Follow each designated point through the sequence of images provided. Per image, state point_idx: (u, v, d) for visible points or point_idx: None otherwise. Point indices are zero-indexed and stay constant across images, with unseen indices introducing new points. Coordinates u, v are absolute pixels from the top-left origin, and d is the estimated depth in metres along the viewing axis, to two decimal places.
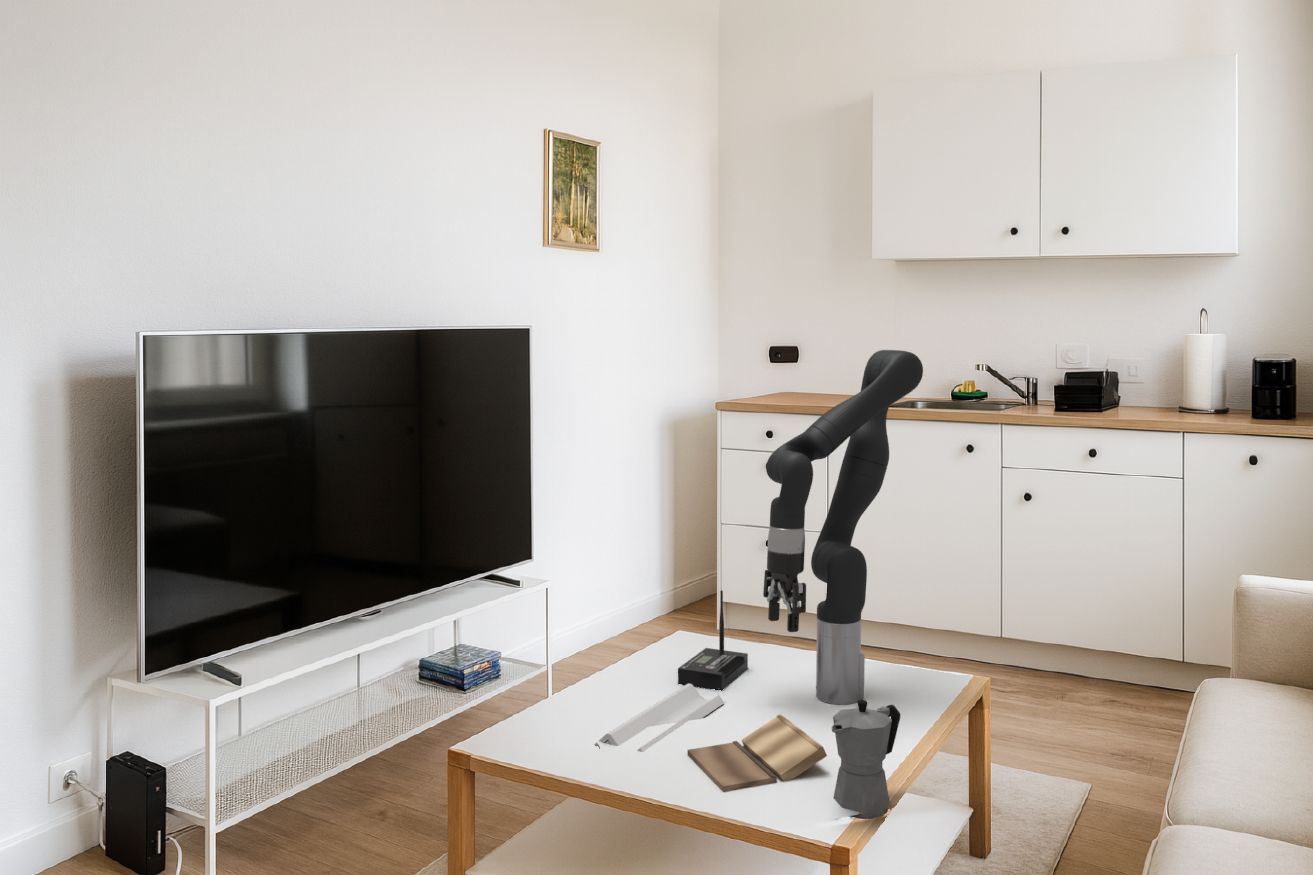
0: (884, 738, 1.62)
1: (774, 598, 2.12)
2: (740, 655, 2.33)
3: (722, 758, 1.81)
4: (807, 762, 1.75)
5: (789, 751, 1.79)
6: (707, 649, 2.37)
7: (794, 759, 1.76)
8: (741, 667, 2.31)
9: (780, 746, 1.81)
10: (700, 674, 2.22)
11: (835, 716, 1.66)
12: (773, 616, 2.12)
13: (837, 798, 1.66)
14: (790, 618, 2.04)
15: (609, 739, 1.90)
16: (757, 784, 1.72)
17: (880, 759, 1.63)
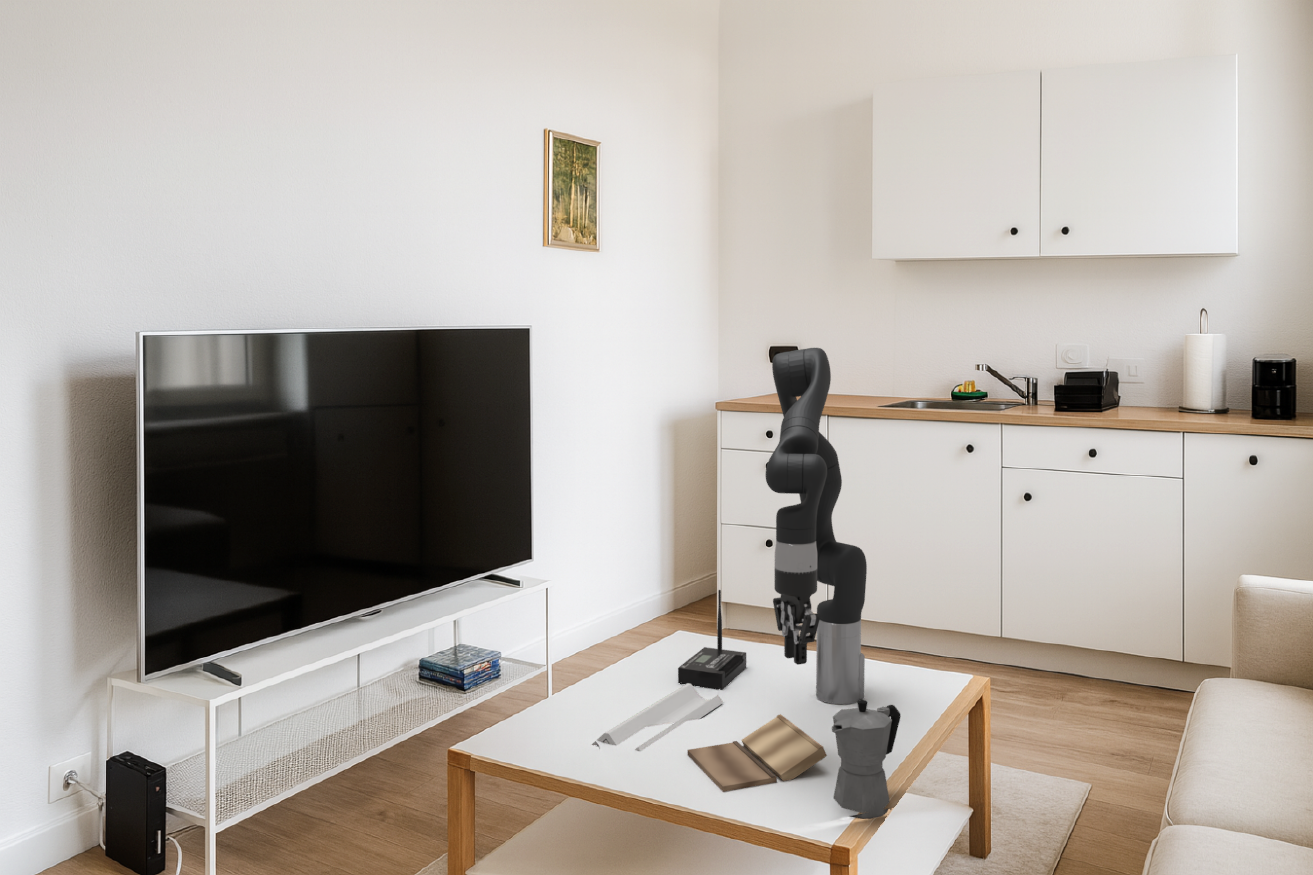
0: (884, 738, 1.62)
1: (790, 632, 1.83)
2: (739, 654, 2.34)
3: (722, 758, 1.81)
4: (807, 762, 1.75)
5: (789, 751, 1.79)
6: (705, 648, 2.38)
7: (794, 759, 1.76)
8: (740, 666, 2.31)
9: (780, 746, 1.81)
10: (700, 673, 2.23)
11: (835, 716, 1.66)
12: (790, 652, 1.83)
13: (837, 798, 1.66)
14: (797, 649, 1.79)
15: (607, 738, 1.90)
16: (757, 784, 1.72)
17: (880, 759, 1.63)
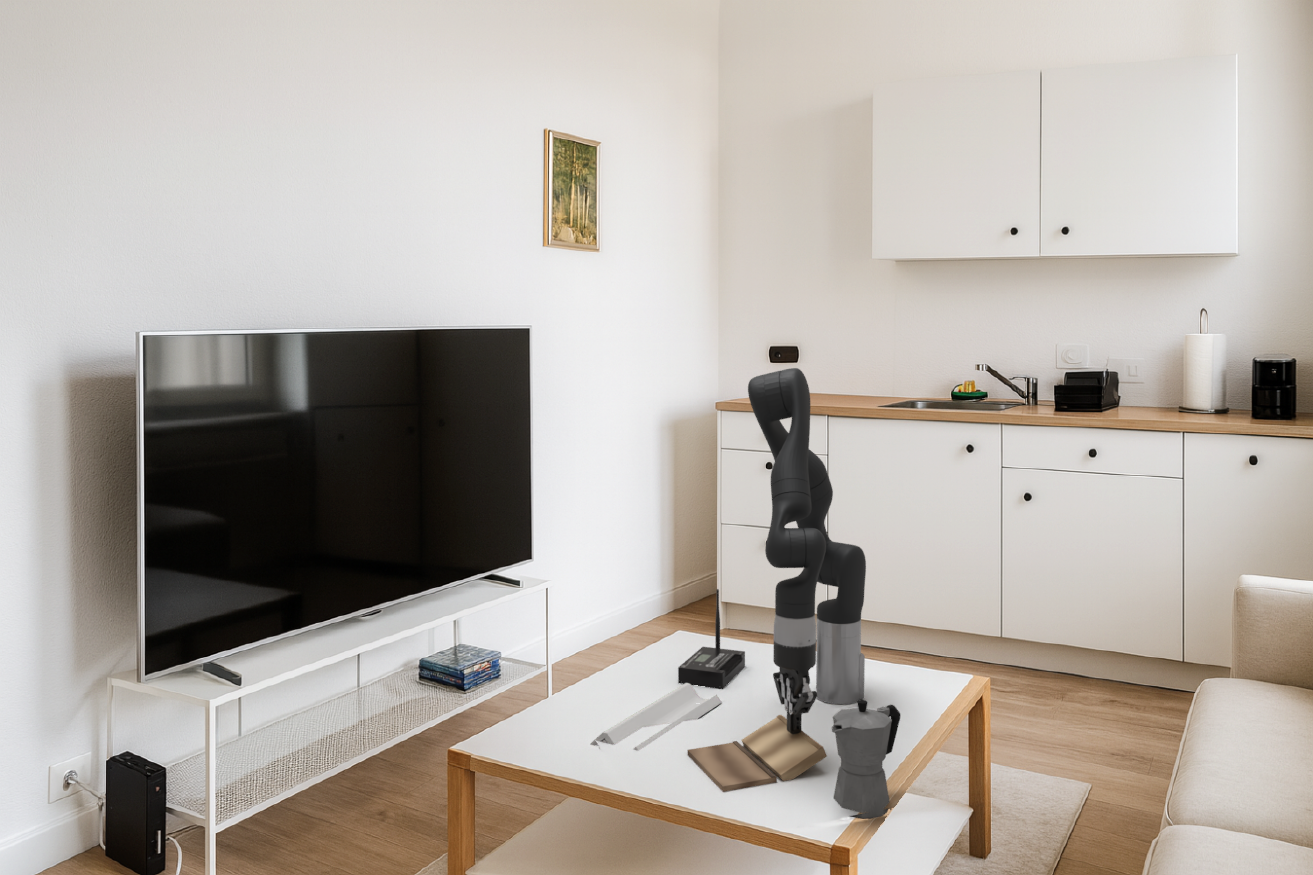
0: (884, 738, 1.62)
1: None
2: (738, 653, 2.34)
3: (722, 758, 1.81)
4: (807, 762, 1.75)
5: (789, 751, 1.79)
6: (704, 648, 2.38)
7: (794, 759, 1.76)
8: (739, 665, 2.32)
9: (780, 746, 1.81)
10: (700, 672, 2.23)
11: (835, 716, 1.66)
12: None
13: (837, 798, 1.66)
14: (791, 719, 1.82)
15: (605, 738, 1.91)
16: (757, 784, 1.72)
17: (880, 759, 1.63)
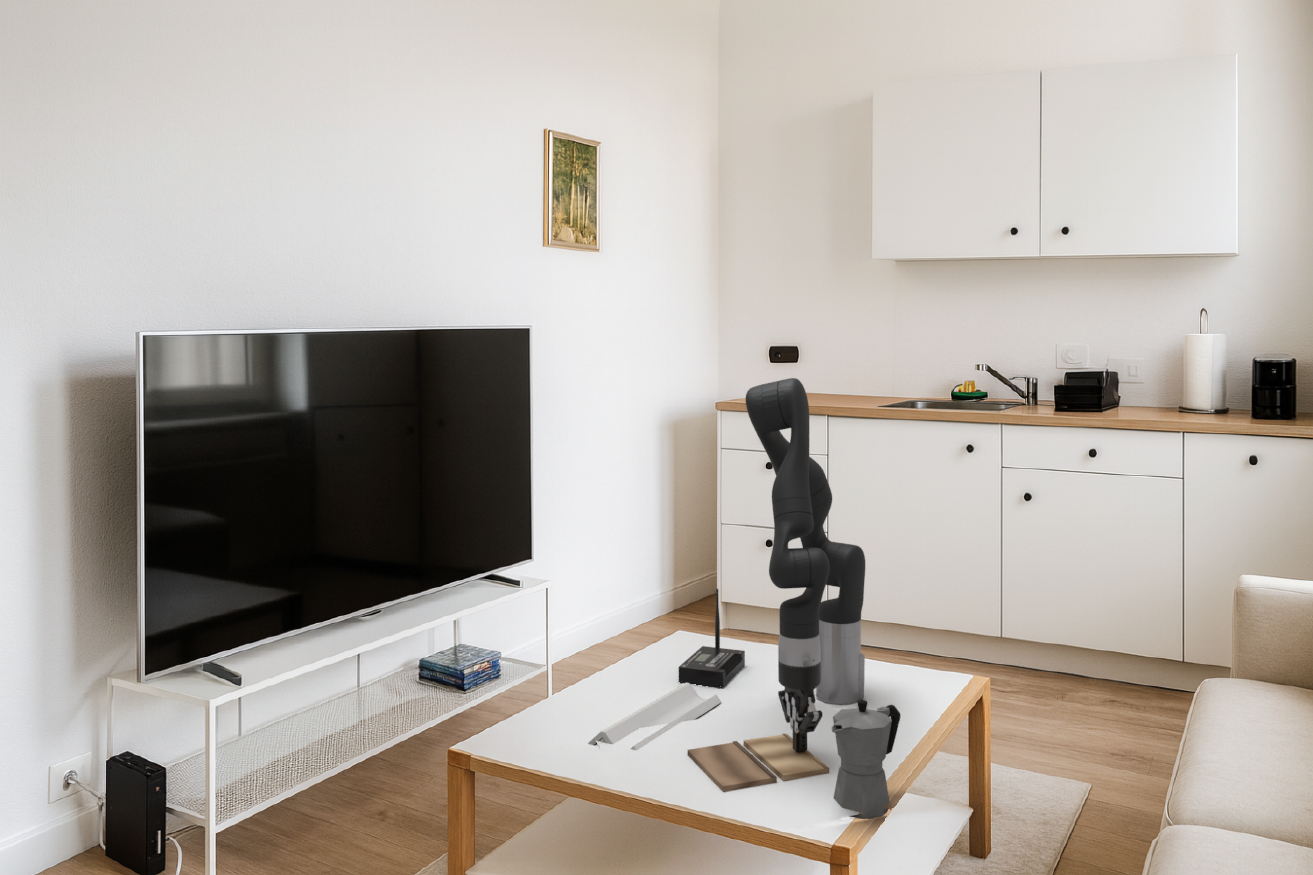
0: (884, 738, 1.62)
1: None
2: (738, 652, 2.35)
3: (722, 758, 1.81)
4: (810, 775, 1.75)
5: (794, 761, 1.79)
6: (704, 647, 2.39)
7: (798, 768, 1.76)
8: (739, 664, 2.33)
9: (784, 755, 1.82)
10: (701, 672, 2.23)
11: (835, 716, 1.66)
12: None
13: (837, 798, 1.66)
14: (797, 737, 1.82)
15: (603, 737, 1.91)
16: (757, 784, 1.72)
17: (880, 759, 1.63)
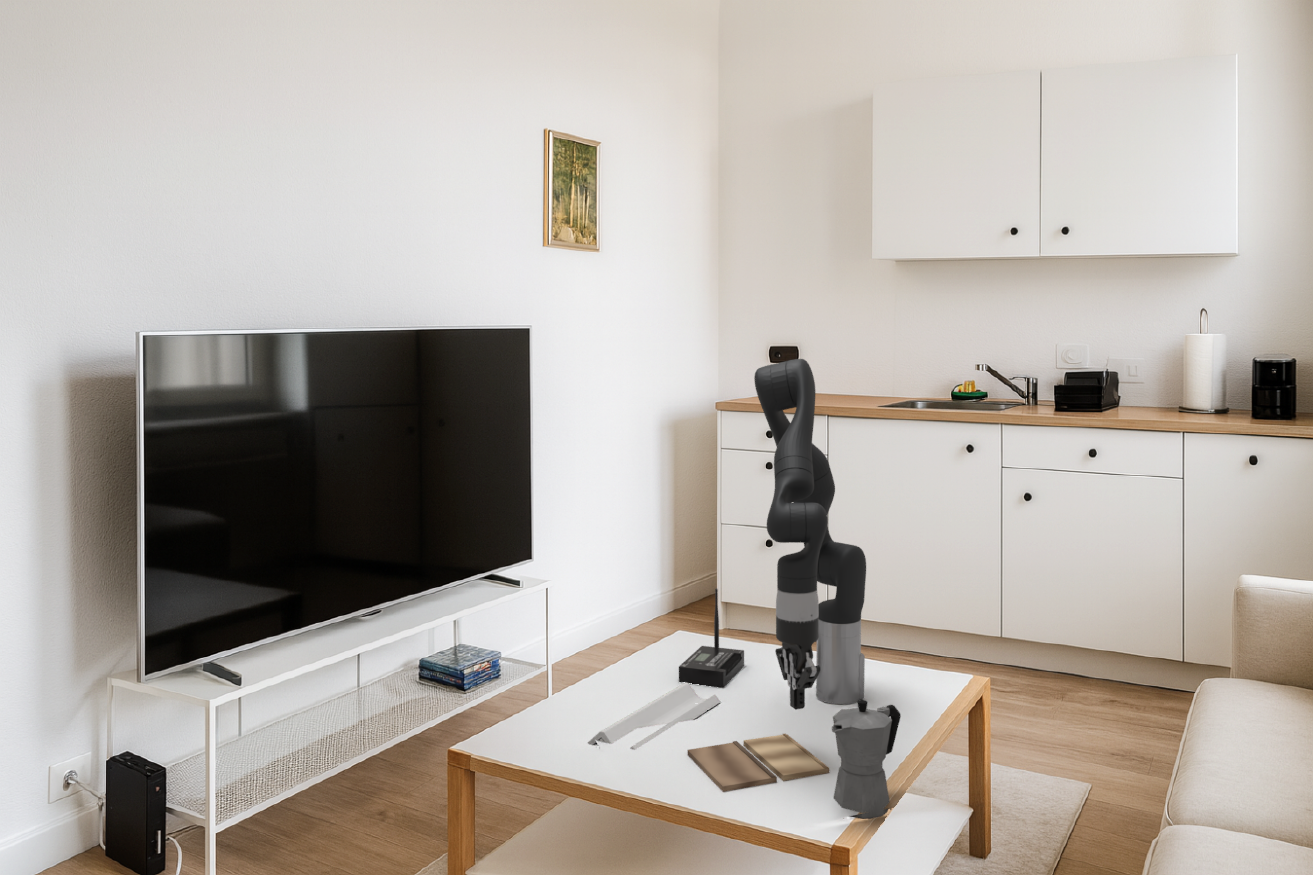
0: (884, 738, 1.62)
1: None
2: (737, 652, 2.35)
3: (722, 758, 1.81)
4: (810, 775, 1.75)
5: (794, 761, 1.79)
6: (703, 647, 2.39)
7: (798, 768, 1.76)
8: (739, 664, 2.33)
9: (784, 755, 1.82)
10: (701, 671, 2.24)
11: (835, 716, 1.66)
12: None
13: (837, 798, 1.66)
14: (795, 694, 1.81)
15: (602, 737, 1.91)
16: (757, 784, 1.72)
17: (880, 759, 1.63)
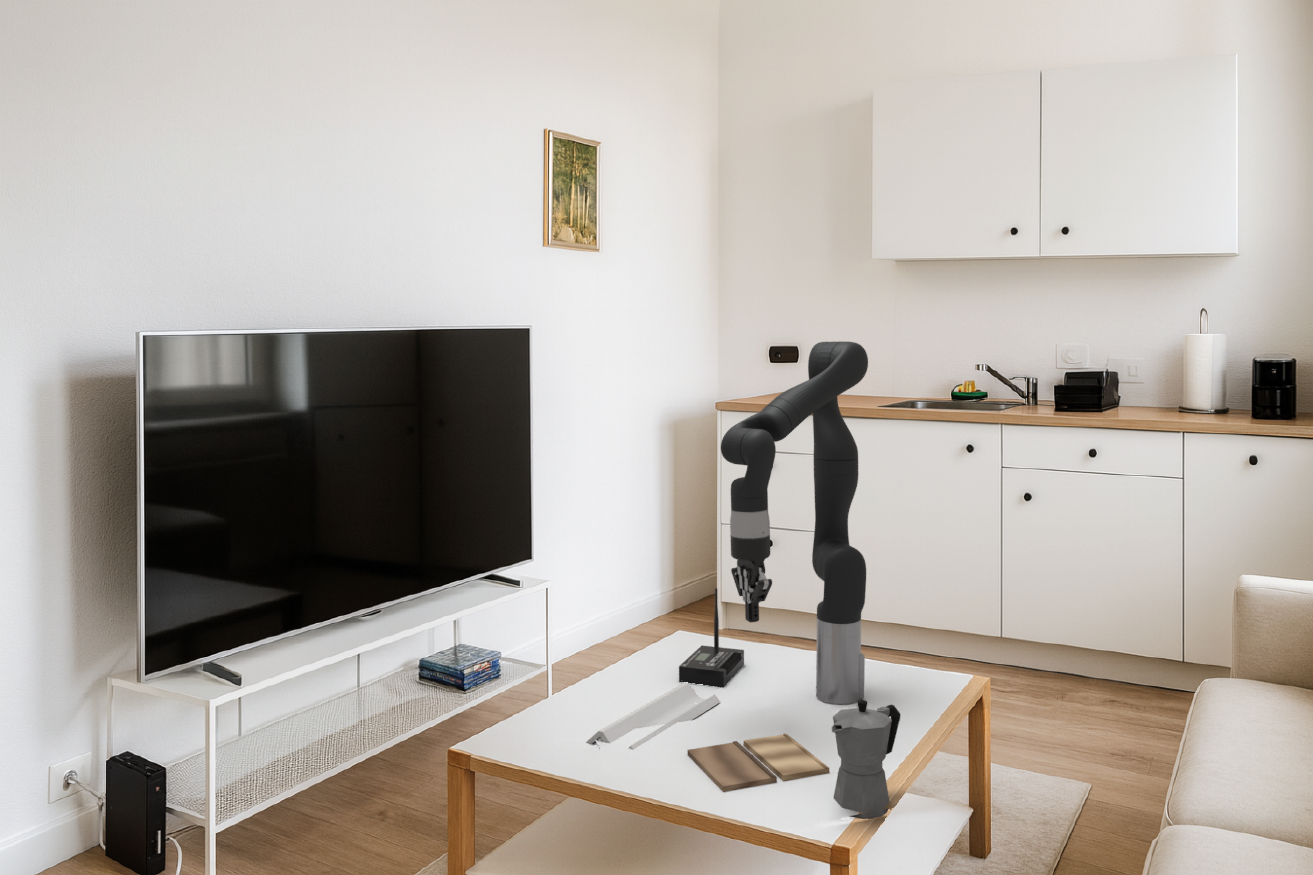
0: (884, 738, 1.62)
1: None
2: (737, 652, 2.35)
3: (722, 758, 1.81)
4: (810, 775, 1.75)
5: (794, 761, 1.79)
6: (703, 647, 2.39)
7: (798, 768, 1.76)
8: (739, 663, 2.33)
9: (784, 755, 1.82)
10: (701, 671, 2.24)
11: (835, 716, 1.66)
12: None
13: (837, 798, 1.66)
14: (749, 608, 1.94)
15: (601, 736, 1.91)
16: (757, 784, 1.72)
17: (880, 759, 1.63)
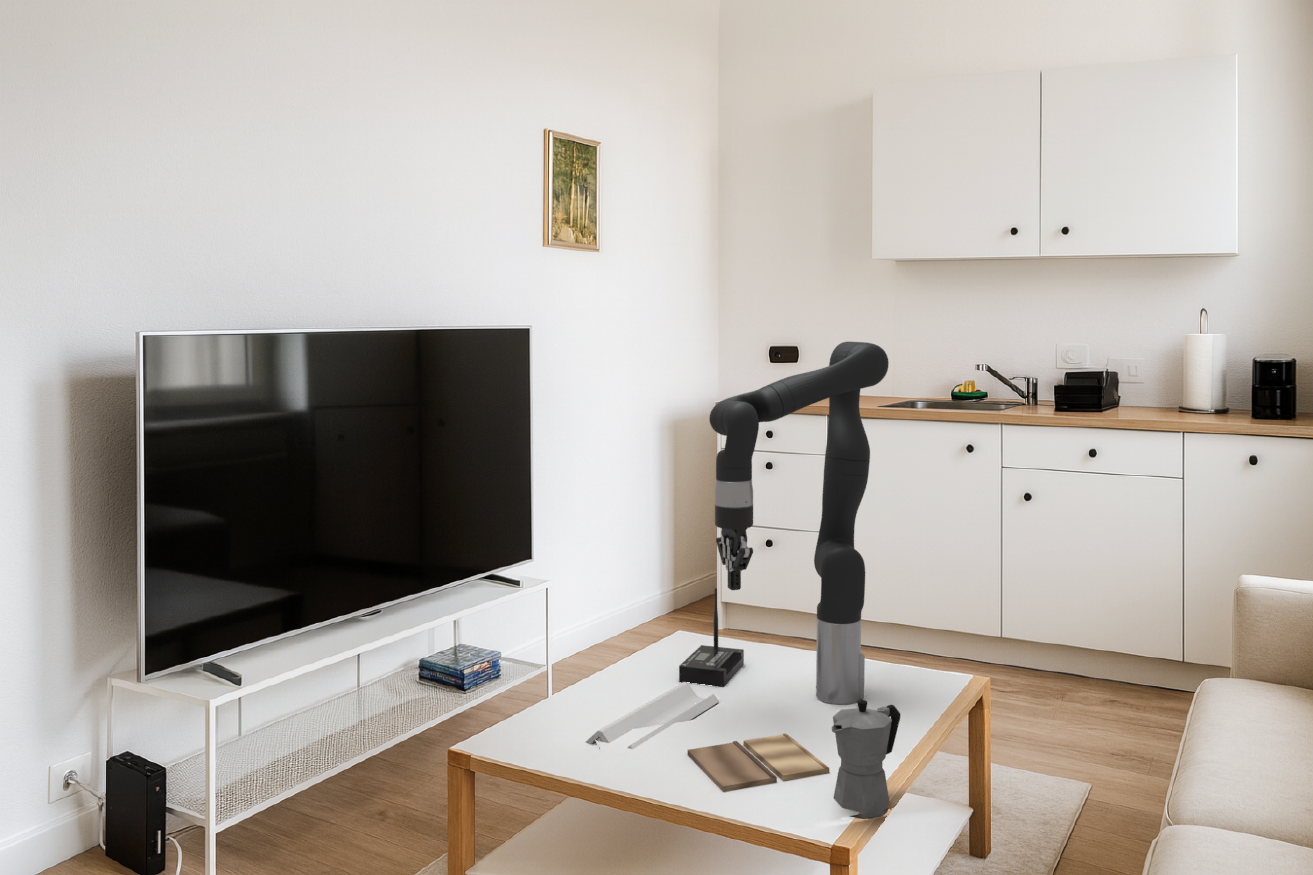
0: (884, 738, 1.62)
1: None
2: (737, 651, 2.36)
3: (722, 758, 1.81)
4: (810, 775, 1.75)
5: (794, 761, 1.79)
6: (703, 646, 2.40)
7: (798, 768, 1.76)
8: (739, 663, 2.34)
9: (784, 755, 1.82)
10: (701, 671, 2.24)
11: (835, 716, 1.66)
12: None
13: (837, 798, 1.66)
14: (731, 576, 1.99)
15: (600, 736, 1.91)
16: (757, 784, 1.72)
17: (880, 759, 1.63)
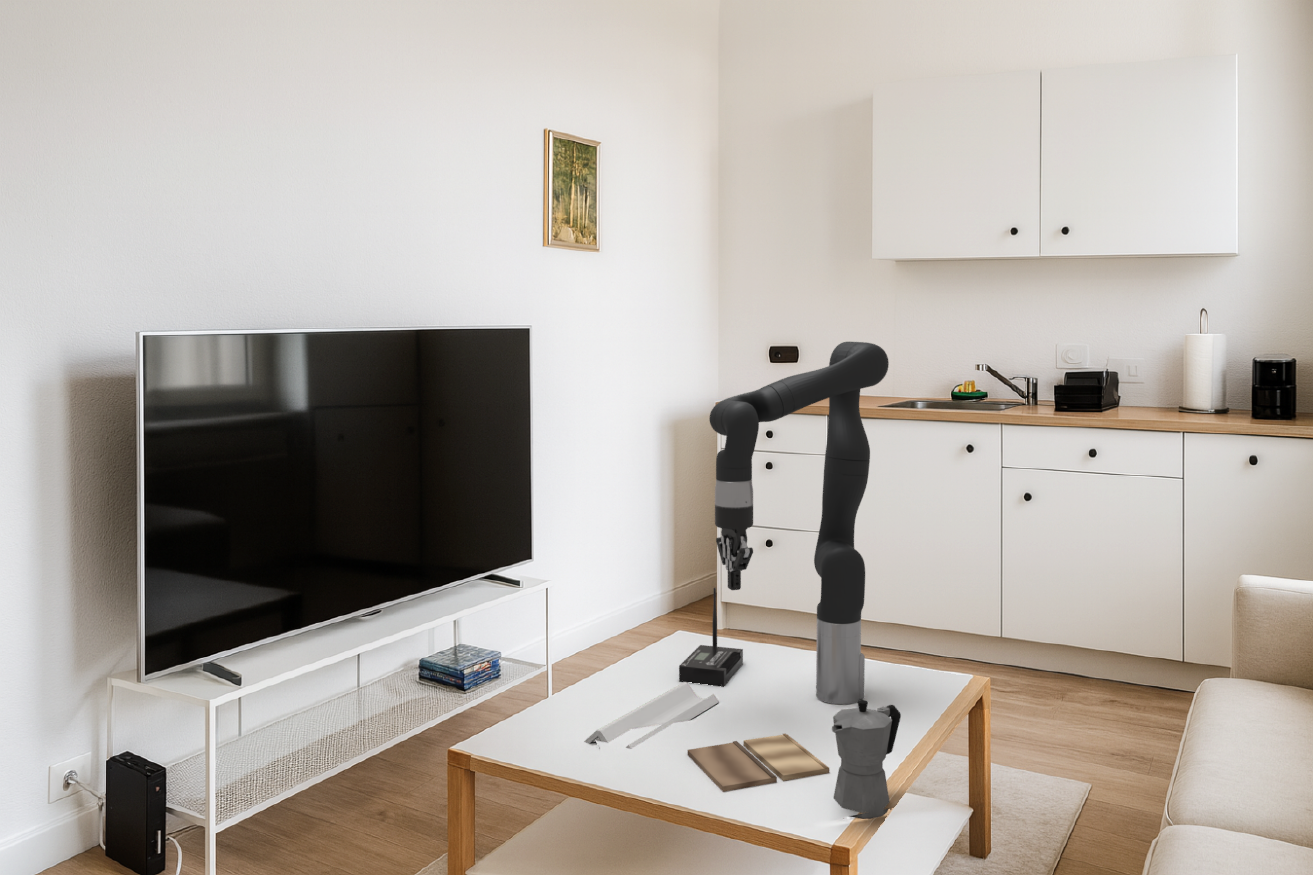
0: (884, 738, 1.62)
1: None
2: (736, 651, 2.36)
3: (722, 758, 1.81)
4: (810, 775, 1.75)
5: (794, 761, 1.79)
6: (702, 646, 2.40)
7: (798, 768, 1.76)
8: (738, 663, 2.34)
9: (784, 755, 1.82)
10: (701, 670, 2.24)
11: (835, 716, 1.66)
12: None
13: (837, 798, 1.66)
14: (731, 576, 1.99)
15: (599, 736, 1.92)
16: (757, 784, 1.72)
17: (880, 759, 1.63)
